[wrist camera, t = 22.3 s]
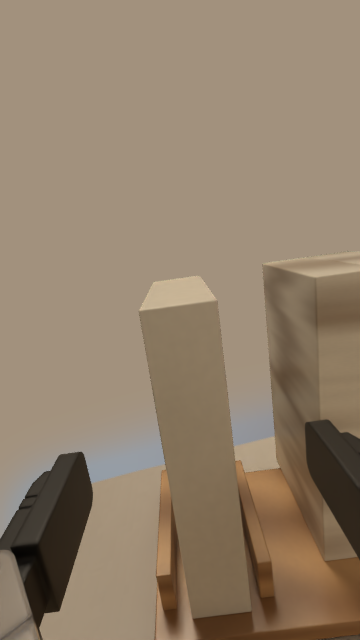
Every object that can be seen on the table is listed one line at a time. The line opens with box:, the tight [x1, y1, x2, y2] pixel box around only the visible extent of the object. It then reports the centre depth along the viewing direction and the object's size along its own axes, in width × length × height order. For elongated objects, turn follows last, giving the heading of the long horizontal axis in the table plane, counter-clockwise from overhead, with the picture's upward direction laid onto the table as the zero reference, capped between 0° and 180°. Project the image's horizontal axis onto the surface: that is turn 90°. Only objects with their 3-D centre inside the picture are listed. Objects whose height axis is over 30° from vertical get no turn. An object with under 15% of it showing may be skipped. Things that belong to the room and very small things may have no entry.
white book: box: [139, 276, 252, 619], centre depth 19 cm, size 9×3×17 cm, turn 1°
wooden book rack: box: [155, 251, 360, 640], centre depth 20 cm, size 12×17×18 cm
